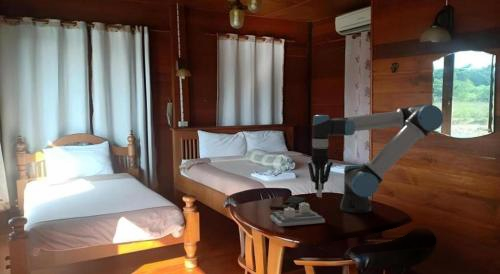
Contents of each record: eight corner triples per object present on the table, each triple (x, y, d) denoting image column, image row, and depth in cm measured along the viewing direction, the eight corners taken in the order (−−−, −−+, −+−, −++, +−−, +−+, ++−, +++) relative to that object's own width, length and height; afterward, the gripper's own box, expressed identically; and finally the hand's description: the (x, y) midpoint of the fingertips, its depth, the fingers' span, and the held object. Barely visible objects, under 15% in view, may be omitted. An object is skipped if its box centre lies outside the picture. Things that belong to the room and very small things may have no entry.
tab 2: (306, 213, 195) (306, 201, 194) (309, 215, 192) (309, 203, 191) (298, 213, 194) (298, 202, 193) (301, 215, 191) (301, 204, 190)
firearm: (281, 194, 235) (306, 196, 230) (281, 198, 235) (306, 200, 230) (266, 206, 208) (295, 208, 203) (266, 210, 209) (295, 212, 204)
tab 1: (292, 218, 186) (292, 206, 185) (294, 220, 182) (295, 208, 182) (284, 219, 185) (284, 207, 184) (286, 221, 181) (286, 209, 181)
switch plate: (313, 215, 197) (313, 209, 197) (324, 222, 185) (324, 216, 184) (270, 218, 192) (270, 212, 191) (278, 226, 179) (279, 219, 179)
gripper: (329, 146, 198) (328, 194, 199) (304, 147, 194) (303, 195, 196) (336, 148, 190) (335, 197, 192) (310, 148, 187) (309, 199, 189)
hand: (319, 196), depth 194 cm, fingers closed
